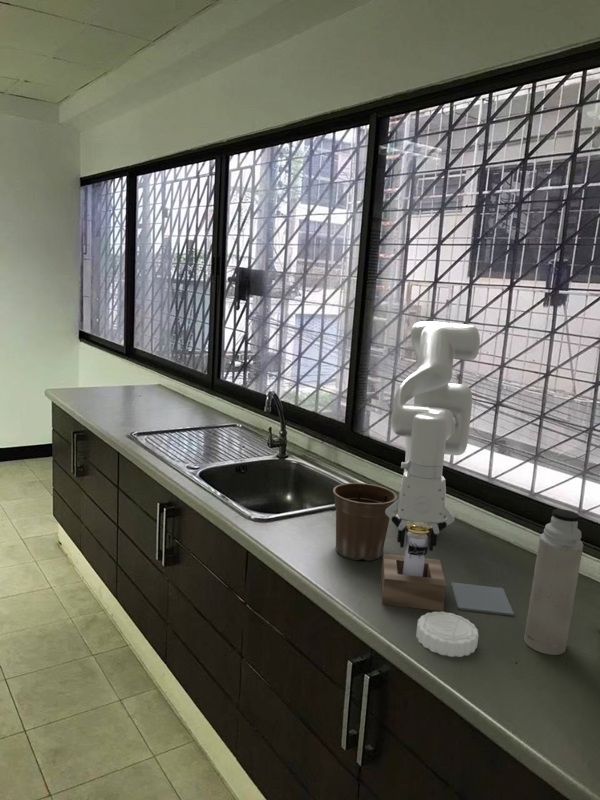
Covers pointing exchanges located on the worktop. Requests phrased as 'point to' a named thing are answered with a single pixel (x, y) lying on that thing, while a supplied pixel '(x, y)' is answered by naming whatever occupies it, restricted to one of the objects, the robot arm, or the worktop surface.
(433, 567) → the frame
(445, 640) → the mooncake
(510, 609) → the mat
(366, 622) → the worktop surface
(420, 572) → the perfume bottle
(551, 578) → the thermos bottle
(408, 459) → the robot arm
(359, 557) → the plant pot
